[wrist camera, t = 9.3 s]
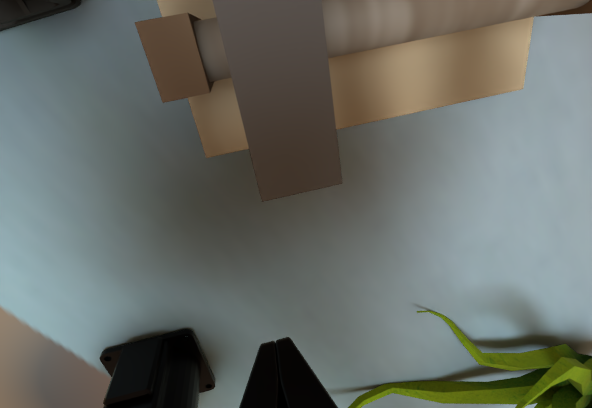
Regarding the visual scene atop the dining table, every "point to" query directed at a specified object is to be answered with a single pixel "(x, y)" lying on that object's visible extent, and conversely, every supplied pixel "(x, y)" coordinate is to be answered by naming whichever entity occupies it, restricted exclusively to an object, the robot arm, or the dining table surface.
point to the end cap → (31, 10)
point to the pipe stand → (357, 57)
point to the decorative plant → (507, 380)
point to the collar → (282, 92)
